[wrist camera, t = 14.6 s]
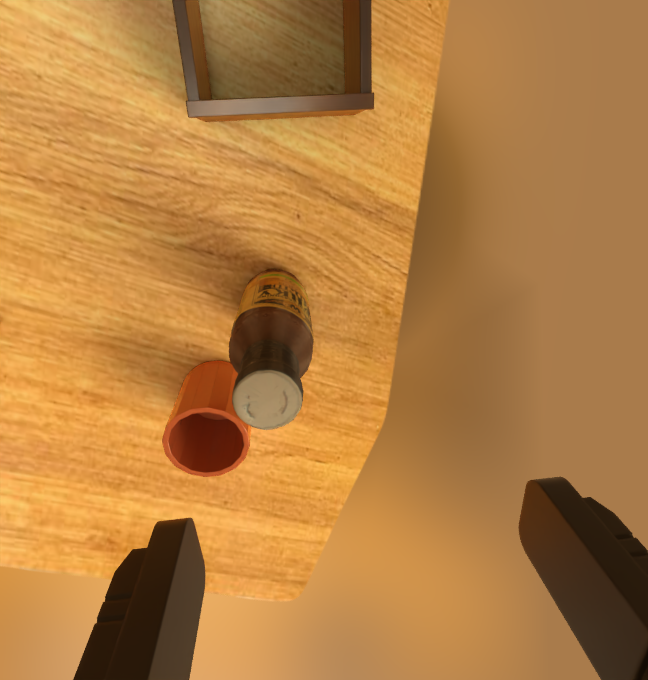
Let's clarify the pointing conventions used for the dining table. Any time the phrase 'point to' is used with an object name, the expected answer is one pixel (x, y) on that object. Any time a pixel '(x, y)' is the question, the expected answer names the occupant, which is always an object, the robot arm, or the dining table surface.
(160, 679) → the robot arm
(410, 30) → the dining table surface
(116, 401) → the dining table surface
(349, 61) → the brown wooden box
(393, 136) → the dining table surface
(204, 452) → the cup
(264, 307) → the sauce bottle
